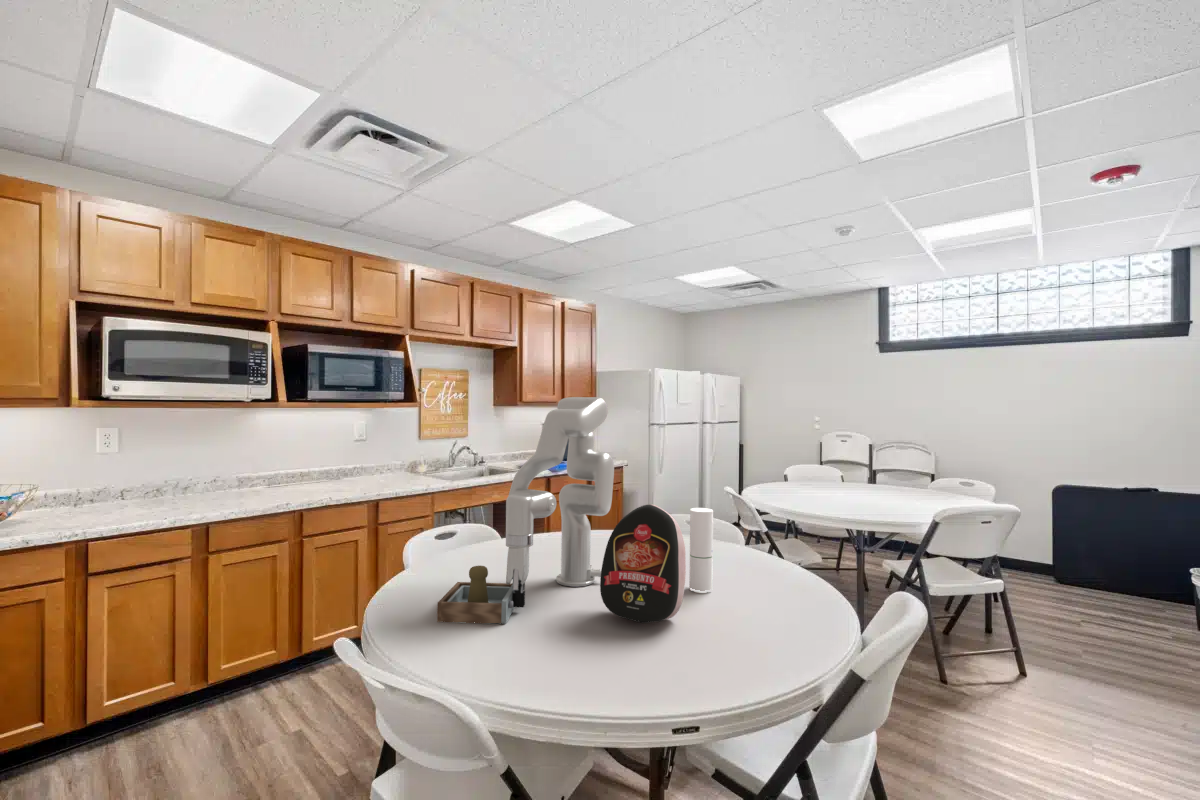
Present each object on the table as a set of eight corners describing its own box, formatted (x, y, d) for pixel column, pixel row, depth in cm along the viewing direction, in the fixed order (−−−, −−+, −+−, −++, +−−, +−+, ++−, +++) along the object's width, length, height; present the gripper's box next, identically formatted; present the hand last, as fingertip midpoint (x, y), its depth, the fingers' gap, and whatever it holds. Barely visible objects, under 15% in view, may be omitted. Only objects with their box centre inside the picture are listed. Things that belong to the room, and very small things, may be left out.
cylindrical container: (714, 588, 170) (715, 509, 170) (709, 594, 163) (710, 512, 164) (692, 584, 173) (693, 507, 173) (686, 591, 166) (687, 510, 167)
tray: (522, 599, 156) (522, 579, 156) (509, 623, 138) (510, 601, 139) (463, 597, 157) (463, 578, 157) (443, 621, 139) (443, 599, 139)
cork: (468, 602, 151) (469, 563, 151) (490, 602, 151) (490, 563, 151) (465, 610, 145) (465, 570, 145) (487, 610, 145) (488, 569, 145)
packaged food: (592, 624, 139) (594, 509, 140) (616, 600, 158) (617, 498, 158) (675, 638, 132) (676, 516, 132) (690, 610, 150) (691, 503, 151)
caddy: (514, 600, 156) (515, 583, 156) (501, 624, 139) (501, 604, 139) (457, 599, 157) (457, 581, 157) (437, 622, 140) (437, 602, 140)
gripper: (511, 532, 155) (510, 596, 155) (500, 546, 140) (499, 616, 140) (536, 533, 155) (536, 596, 155) (528, 546, 140) (528, 617, 140)
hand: (518, 606), depth 147 cm, fingers closed
